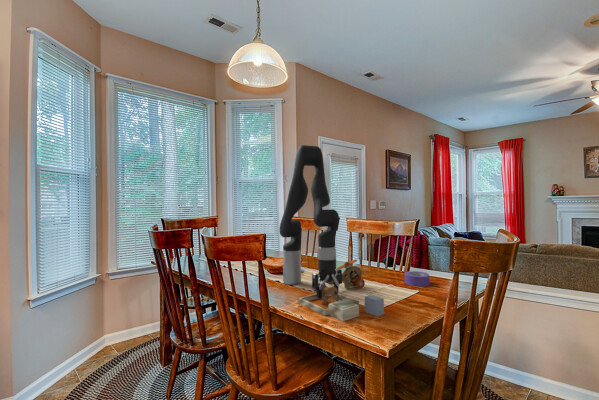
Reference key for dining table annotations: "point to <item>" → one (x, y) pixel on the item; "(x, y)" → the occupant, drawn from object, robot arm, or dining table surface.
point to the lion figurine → (329, 293)
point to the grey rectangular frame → (334, 307)
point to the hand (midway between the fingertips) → (327, 296)
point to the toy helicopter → (351, 276)
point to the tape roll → (417, 278)
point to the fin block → (374, 305)
